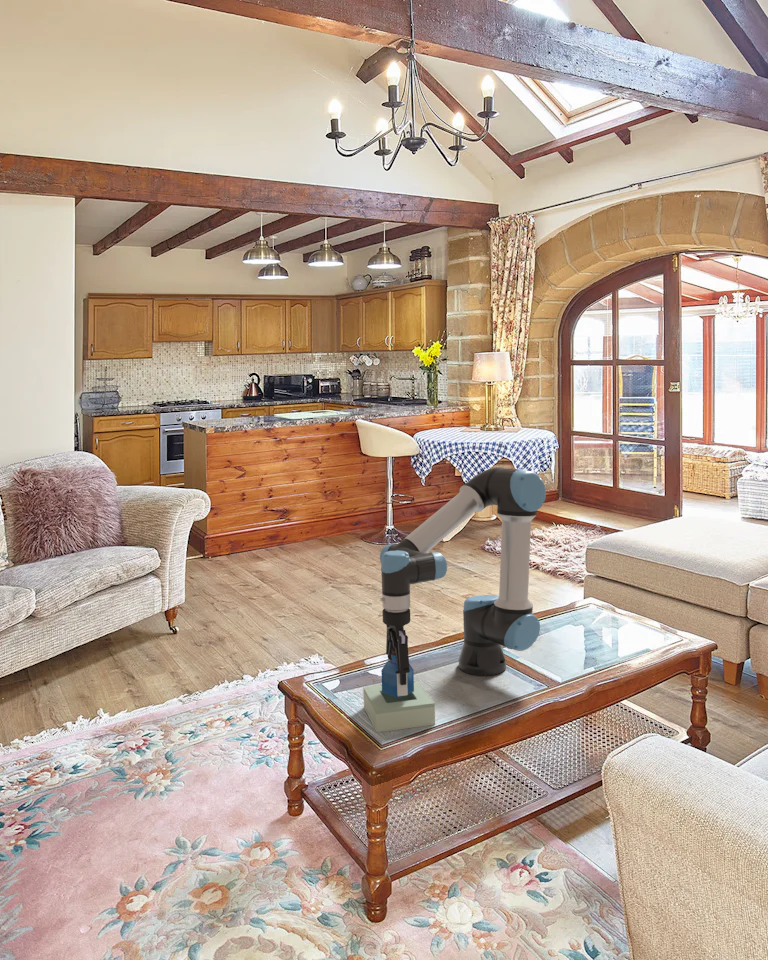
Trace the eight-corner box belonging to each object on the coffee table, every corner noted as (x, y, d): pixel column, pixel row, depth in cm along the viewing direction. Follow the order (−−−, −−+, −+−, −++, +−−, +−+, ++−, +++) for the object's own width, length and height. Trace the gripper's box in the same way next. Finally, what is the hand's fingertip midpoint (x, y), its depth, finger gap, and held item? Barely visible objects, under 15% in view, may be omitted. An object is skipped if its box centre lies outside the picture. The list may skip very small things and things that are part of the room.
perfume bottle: (381, 692, 206) (380, 649, 205) (397, 685, 211) (396, 644, 209) (398, 698, 202) (397, 655, 200) (413, 691, 206) (413, 649, 205)
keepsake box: (418, 700, 217) (417, 680, 216) (435, 724, 201) (434, 703, 201) (363, 707, 213) (363, 687, 212) (376, 732, 198) (376, 710, 197)
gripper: (373, 599, 213) (375, 675, 216) (392, 621, 192) (394, 706, 195) (399, 596, 214) (401, 673, 217) (420, 618, 194) (422, 702, 197)
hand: (398, 688), depth 206 cm, fingers closed on perfume bottle, 8 cm apart
